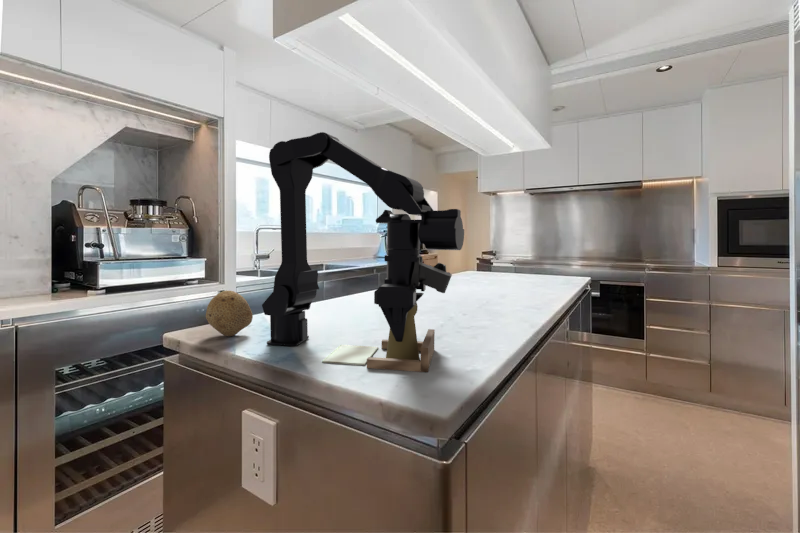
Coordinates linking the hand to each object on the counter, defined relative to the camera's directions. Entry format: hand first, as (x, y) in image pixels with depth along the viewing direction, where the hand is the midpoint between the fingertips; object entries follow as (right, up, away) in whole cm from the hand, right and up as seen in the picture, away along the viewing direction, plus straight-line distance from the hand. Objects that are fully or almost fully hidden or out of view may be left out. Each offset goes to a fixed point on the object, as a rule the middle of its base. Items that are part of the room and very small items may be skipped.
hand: (402, 336), depth 68 cm
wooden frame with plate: (-3, -4, +1) cm, 5 cm away
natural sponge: (-38, -3, +15) cm, 41 cm away
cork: (0, -4, 0) cm, 4 cm away
